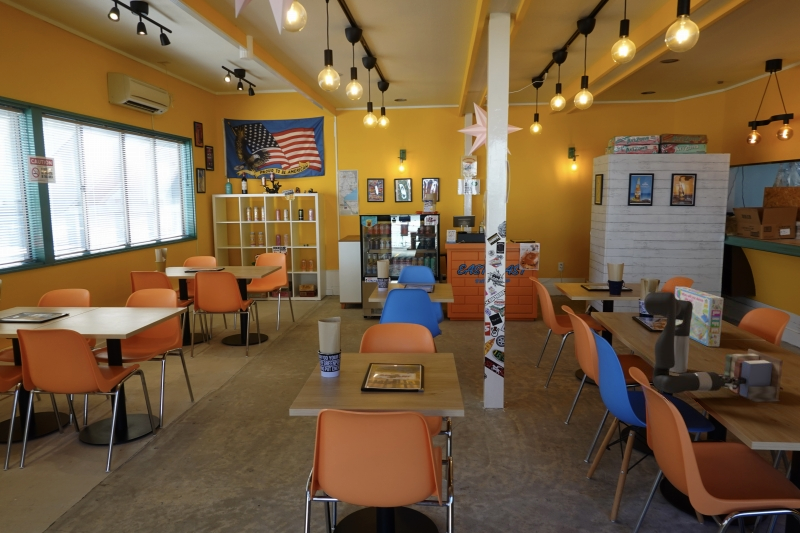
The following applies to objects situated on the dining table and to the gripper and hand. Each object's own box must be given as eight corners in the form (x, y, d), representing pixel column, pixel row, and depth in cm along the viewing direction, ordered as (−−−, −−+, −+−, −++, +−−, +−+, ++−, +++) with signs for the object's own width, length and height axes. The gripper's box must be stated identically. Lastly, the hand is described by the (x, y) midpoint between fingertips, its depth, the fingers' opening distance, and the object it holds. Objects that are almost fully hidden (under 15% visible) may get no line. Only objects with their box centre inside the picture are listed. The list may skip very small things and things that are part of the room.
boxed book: (747, 397, 212) (750, 363, 211) (739, 394, 216) (742, 360, 215) (769, 396, 214) (772, 362, 212) (760, 393, 218) (764, 359, 216)
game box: (719, 347, 288) (724, 298, 285) (706, 347, 288) (711, 297, 285) (683, 329, 328) (686, 286, 325) (671, 329, 328) (674, 286, 325)
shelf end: (754, 401, 208) (758, 362, 206) (721, 385, 226) (724, 349, 224) (782, 401, 209) (786, 361, 207) (747, 384, 228) (750, 348, 226)
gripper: (717, 378, 205) (758, 376, 207) (694, 367, 218) (733, 366, 220) (715, 396, 206) (756, 395, 207) (693, 385, 219) (731, 383, 221)
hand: (744, 380), depth 214 cm, fingers closed
